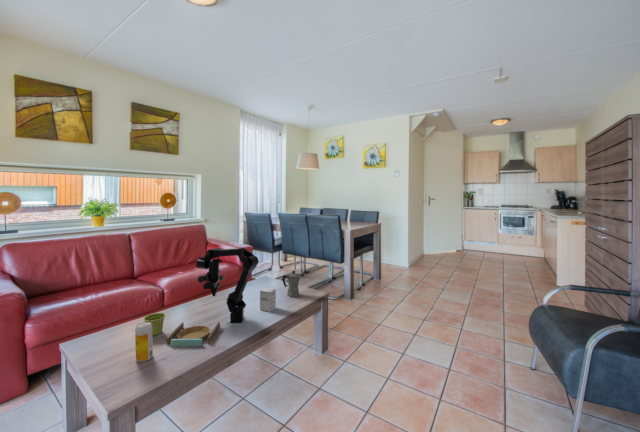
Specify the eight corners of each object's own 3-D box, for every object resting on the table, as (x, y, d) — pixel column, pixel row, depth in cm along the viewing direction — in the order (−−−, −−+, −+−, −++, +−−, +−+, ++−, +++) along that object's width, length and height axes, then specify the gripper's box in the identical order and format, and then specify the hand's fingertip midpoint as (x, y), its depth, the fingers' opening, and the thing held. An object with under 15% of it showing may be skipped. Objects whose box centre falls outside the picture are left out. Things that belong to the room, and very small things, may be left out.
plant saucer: (179, 333, 140) (179, 328, 140) (210, 328, 145) (210, 323, 145) (175, 347, 126) (175, 342, 126) (209, 342, 131) (209, 336, 131)
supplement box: (259, 310, 169) (259, 290, 169) (266, 306, 176) (266, 286, 176) (269, 312, 167) (269, 292, 166) (276, 307, 174) (276, 288, 173)
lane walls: (220, 327, 145) (220, 322, 145) (209, 343, 129) (209, 337, 129) (181, 328, 144) (181, 322, 144) (166, 344, 128) (166, 338, 128)
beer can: (141, 354, 119) (140, 321, 118) (155, 354, 120) (154, 321, 119) (132, 363, 113) (131, 328, 112) (148, 362, 114) (147, 327, 113)
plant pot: (155, 338, 133) (155, 321, 133) (139, 336, 135) (139, 319, 134) (169, 330, 142) (169, 313, 142) (154, 328, 144) (154, 312, 144)
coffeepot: (298, 292, 204) (298, 268, 203) (304, 295, 196) (304, 271, 195) (279, 295, 196) (279, 270, 195) (284, 299, 188) (285, 274, 187)
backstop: (202, 344, 128) (202, 338, 128) (201, 345, 127) (201, 339, 127) (171, 345, 127) (171, 339, 127) (170, 346, 126) (170, 340, 126)
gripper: (205, 266, 167) (205, 290, 168) (193, 274, 149) (193, 302, 149) (223, 266, 168) (224, 290, 169) (213, 274, 149) (214, 302, 150)
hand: (214, 296), depth 159 cm, fingers closed
